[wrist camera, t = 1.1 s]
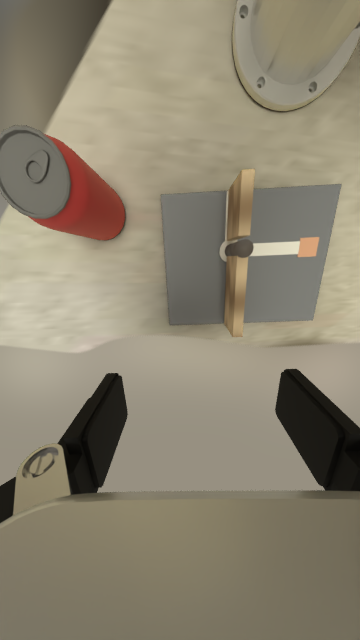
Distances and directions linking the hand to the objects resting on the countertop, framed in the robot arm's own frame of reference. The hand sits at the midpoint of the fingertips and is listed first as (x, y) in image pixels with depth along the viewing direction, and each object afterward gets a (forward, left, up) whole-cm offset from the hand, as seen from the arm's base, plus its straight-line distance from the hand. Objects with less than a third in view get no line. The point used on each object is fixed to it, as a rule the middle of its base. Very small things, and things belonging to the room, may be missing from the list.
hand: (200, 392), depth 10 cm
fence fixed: (-13, -3, -18) cm, 22 cm away
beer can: (-4, -17, -19) cm, 26 cm away
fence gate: (-6, +3, -17) cm, 19 cm away
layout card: (-10, +2, -19) cm, 21 cm away
